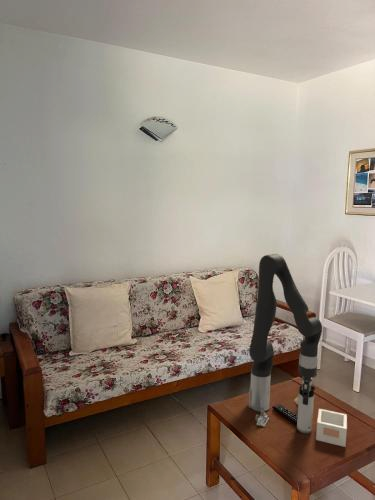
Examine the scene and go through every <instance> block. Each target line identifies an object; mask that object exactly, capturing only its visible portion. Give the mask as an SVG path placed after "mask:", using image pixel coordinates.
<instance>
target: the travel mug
mask: <svg viewBox="0 0 375 500" xmlns="http://www.w3.org/2000/svg"><path fill="white" fill-rule="evenodd" d="M315 390H316V386H313V385H311V390H310V392H309V397H308V405H304V404H303V397H302V384H301V385H300V386H299V388H298V394H299V401H298V405H297V421H296V422H297V424H296V429H297V430H298V432H300V433H303V434H310V433H312V432H313V420H314V419H313V416H314V403H315V402H314V401H315ZM304 393H305V392H304ZM305 394H307V393H305Z"/></svg>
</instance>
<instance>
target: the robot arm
mask: <svg viewBox="0 0 375 500" xmlns="http://www.w3.org/2000/svg"><path fill="white" fill-rule="evenodd" d="M275 276H276V277H277V279H279V281H280V284H281V285H282V290H283V297H284V300H285V303H286V305H287V306H288V308H289V310H290V311H291V313H292V315H293V318H294V322H295V326H296V329H297V330H298V332H299V333H300V335H302V337H304V338H303V339H302V340H301V342H300V352H299V359H298V360H299V361H298V374H299V375H300V376H301V377H302V376H303V379H302V378H301V385H302V397H303V404H304V405H308V397H309V392H310V390H311V386H313V385H312V383H313V379H314V378H316V377H317V375H318V374H317V373H318V361H319V360H318V359H319V357H318V352H319V351H318V349H319V342H320V340H321V336H322V333H323V325H322V322H321V320H320V319H319V318H317V317H314V316H313V317H308V315H307V313H308V312H309V307H308V304H307V303H306V301H305V300H304V298H303V296H302V294H301V293H300V292H299V289H298V287H297V285H296V283H295V281H294V279H293V276H292V274H291V272H290V269H289V267H288V264H287V262H286V260H285V258H284V256H282V255H281V254H278V253H275V254H274V253H273V254H267V255H264V256H261V259H260V260H259V264H258V288H257V298H256V304H255V313H254V322H253V330H252V331H253V332H252V337H251V341H250V345H249V350H248V351H249V356H250V359H251V360H252V361H253V363H252V365H251V367H250V368H251V369H250V387H249V392H248V396H249V397H248V408H249V409H252V410H253V411H256V412H260V413H261V408H262V407H263V408H265V412H266V411H268V410H269V409H270V400H271V397H270V396H271V378H272V377H271V376H272V375H271V372H272V369H273V366H274V365H273V363H274V354H275V353H274V351H275V350H274V346H273V344H272V342H271V341H270V340H269V339H268V338H269V333H270V332H271V329H272V327H273V324H274V323H275V320H276V319H275V318H276V314H277V313H276V312H277V308H278V307H277V306H278V305H277V299H276V295H275V292H274V287H273V285H274V280H275V279H274V277H275ZM304 392H305V393H307V394H305V393H304Z"/></svg>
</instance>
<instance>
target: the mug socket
mask: <svg viewBox="0 0 375 500" xmlns="http://www.w3.org/2000/svg"><path fill="white" fill-rule="evenodd" d="M317 413H318V415H317V421H316V434H315V440H316V441H319V442H323V443H328V444H332V445H335V446H339V447H344V448H346V444H347V430H348V420H347V418H348V416H347V415H348V414H346V413H342V412H337V411H332V410H328V409H324V408H318V412H317Z"/></svg>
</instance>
